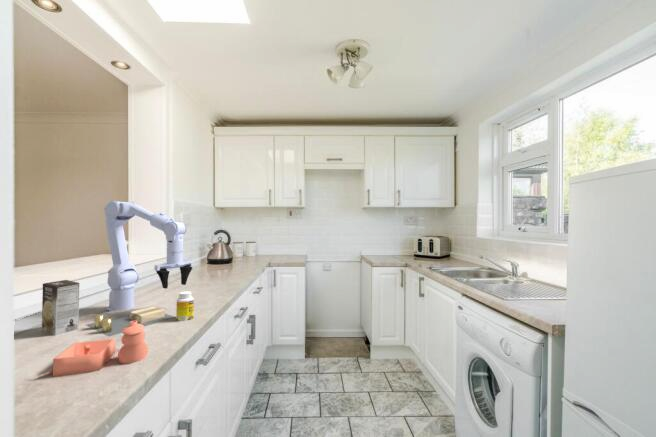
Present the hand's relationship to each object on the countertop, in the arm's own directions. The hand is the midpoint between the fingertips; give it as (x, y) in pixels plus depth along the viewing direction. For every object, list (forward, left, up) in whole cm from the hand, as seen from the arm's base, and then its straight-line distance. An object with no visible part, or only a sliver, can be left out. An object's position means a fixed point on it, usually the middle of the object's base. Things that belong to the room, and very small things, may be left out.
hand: (174, 286), depth 114 cm
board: (-1, -14, -10) cm, 18 cm away
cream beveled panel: (0, -10, -10) cm, 14 cm away
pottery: (+24, -31, -11) cm, 41 cm away
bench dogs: (0, -24, -10) cm, 26 cm away
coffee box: (-11, -31, -11) cm, 35 cm away
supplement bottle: (+12, -3, -11) cm, 16 cm away
